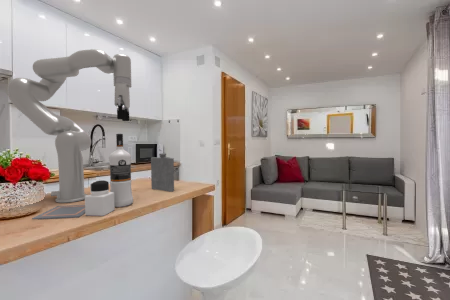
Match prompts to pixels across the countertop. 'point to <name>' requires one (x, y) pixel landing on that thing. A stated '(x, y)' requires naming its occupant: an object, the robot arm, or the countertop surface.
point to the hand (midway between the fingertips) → (123, 120)
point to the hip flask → (162, 173)
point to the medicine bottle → (99, 199)
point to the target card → (63, 212)
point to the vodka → (120, 174)
